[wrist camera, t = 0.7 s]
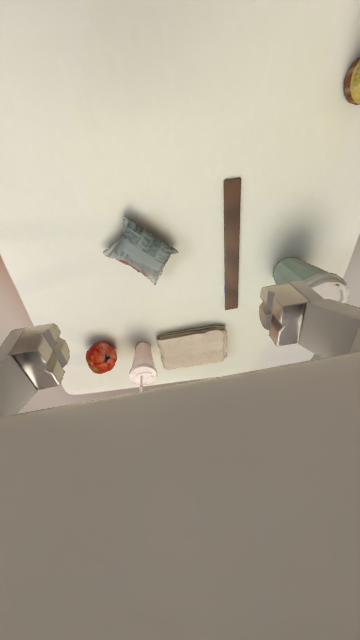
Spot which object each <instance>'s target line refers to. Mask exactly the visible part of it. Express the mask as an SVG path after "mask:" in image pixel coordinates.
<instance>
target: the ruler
mask: <svg viewBox="0 0 360 640" xmlns="http://www.w3.org/2000/svg"><path fill="white" fill-rule="evenodd" d="M240 196H241V178H236V179H230V180H224V248H225V310H228V309H234V308H238V272H239V234H240Z"/></svg>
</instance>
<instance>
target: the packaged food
mask: <svg viewBox="0 0 360 640" xmlns="http://www.w3.org/2000/svg"><path fill="white" fill-rule="evenodd" d="M123 224H124V235H123V236H122V237H121V238H120V239H118V240H117V241H116V242H115V243H114V244H113V245H111V246H110V247H109V248H108V249H106V250H104V251H103V254H104V255H105V256H107V257H109V258H115V259H116V260H118V261H120V262H122V263H124V264H126V265H129V266H131V267H132V268H134V269H136V270H137V271H138V272H141V273H142V274H143V275H145V276H146V277H147V278H148V279H150V280H151V281H152V282H153V283H154V284H155V285H156V282H157V280H158V278H159V276H161V275H162V270H163V267H164V265H165V264H166V262H167V261H168V259H169V257H170V255H171V254H175V253H178V251H177V250H176V249H174V248H173V247H171V246H169V245H168V244H166V243H165V242H163V241H162V240H160V239H158V238H156V237H155V236H154V235H151V234H150V233H149V232H147V231H146V230H145V229H144V228H142V227H141V226H140V225H139V224H137V223H136V222H135V221H134V220H132V219H130V218H127V217H124V219H123Z"/></svg>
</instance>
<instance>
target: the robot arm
mask: <svg viewBox="0 0 360 640" xmlns="http://www.w3.org/2000/svg"><path fill="white" fill-rule="evenodd" d="M260 298H261V299H262V300H263V302H262V304H261V305H260V306H259V316H260V321H261V323H262V325H263V327H264V328H265V329H267V330H269V336H270V337H271V339H272V340H273V342H274V343H275V345H276V346H281V345H288V344H294V343H298V344H299V345H301V346H303V347H304V348H306V349H308V350H310V351H311V352H313V353H315V354H317V355H318V356H320V357H322V358H321V359H316V360H310V361H305V362H299V363H294V364H288V365H283V366H277V367H272V368H266V369H261V370H255V371H250V372H244V373H239V374H233V375H228V376H222V377H217V378H211V379H206V380H201V381H196V382H190V383H184V384H179V385H174V386H168V387H162V388H157V389H152V390H146V391H141V392H136V393H130V394H124V395H119V396H114V397H108V398H102V399H97V400H91V401H86V402H80V403H75V404H69V405H65V406H59V407H53V408H48V409H42V410H36V411H31V412H26V413H20V414H17V413H18V412H19V411H20V410H21V408H23V407H24V405H25V404H26V403H27V402H28V401H29V400H30V399H31V398H32V397H33V396H34V395H35V393H36V392H37V390H40V389H44V388H49V387H54V386H59V385H60V384H61V381H62V379H63V376H64V373H65V371H64V370H63V367H64V366H65V365H66V364H67V363H68V361H69V348H68V345H67V343H66V341H65V340H63V339H62V338H60V337H59V335H60V330H59V328H58V326H57V325H55V324H54V323H53V324H46V325H40V326H33V327H28V328H20V329H15V330H13V331H11V332H10V334H9V335H8V336H7V338H6V339H5V341H4V342H3V344H2V345H1V346H0V640H360V308H359V307H356V306H352V305H348V304H345V303H342V302H338V301H335V300H331V299H324V298H322V297H321V296H320V295H319V294H318V293H317V292H315V291H314V290H313V289H312V288H311V287H309V286H308V285H307V284H306V283H305V282H304V281H302V280H296V281H292V282H287V283H282V284H277V285H272V286H267V287H263V288H262V289H261V293H260Z"/></svg>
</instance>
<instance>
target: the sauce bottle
mask: <svg viewBox="0 0 360 640" xmlns="http://www.w3.org/2000/svg"><path fill="white" fill-rule="evenodd" d="M344 93H345V96H346V99H347V101H348V102H349V103H352V104H355V105H359V104H360V57H359V58H358V59H357V60H356V61H355V62H354V63H353V64H352V66H351V67H350V70H349V71H348V74H347V76H346V79H345V83H344Z"/></svg>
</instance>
